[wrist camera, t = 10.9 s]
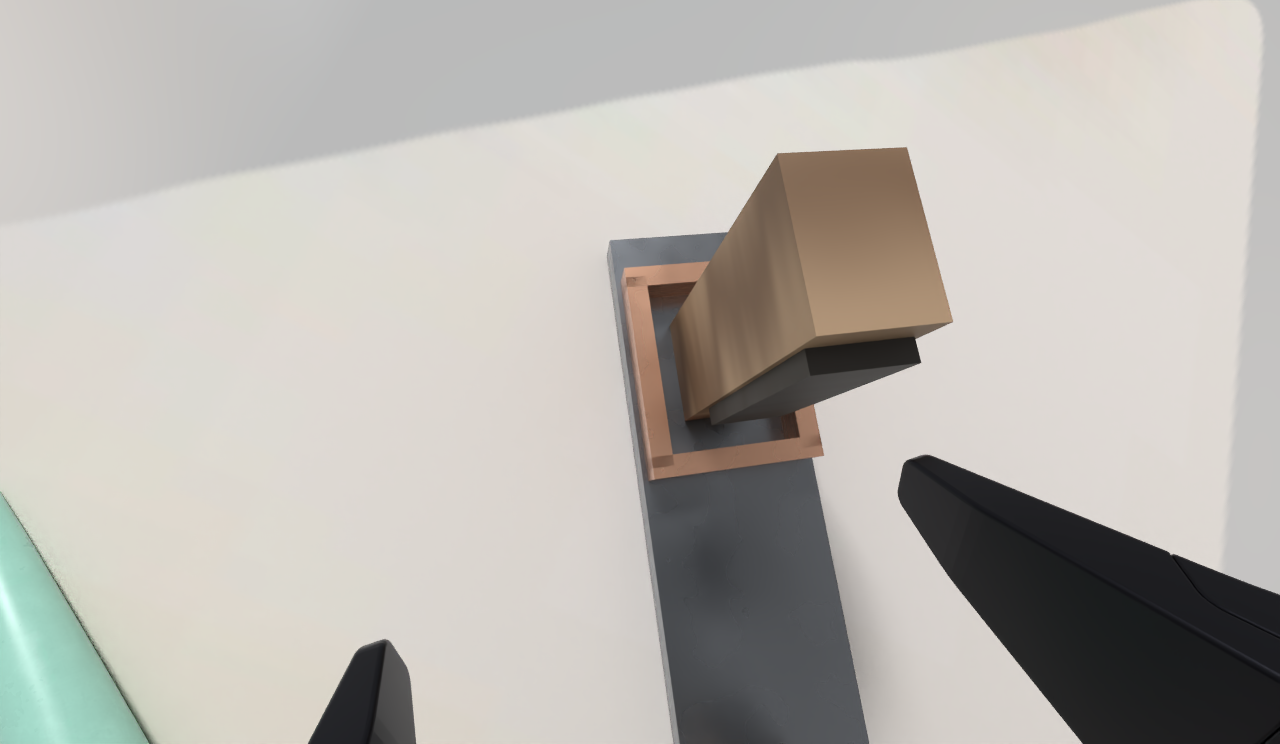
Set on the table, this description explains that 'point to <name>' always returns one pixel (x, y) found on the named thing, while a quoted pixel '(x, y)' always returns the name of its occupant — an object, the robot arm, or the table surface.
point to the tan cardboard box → (811, 289)
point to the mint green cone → (50, 658)
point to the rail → (729, 536)
